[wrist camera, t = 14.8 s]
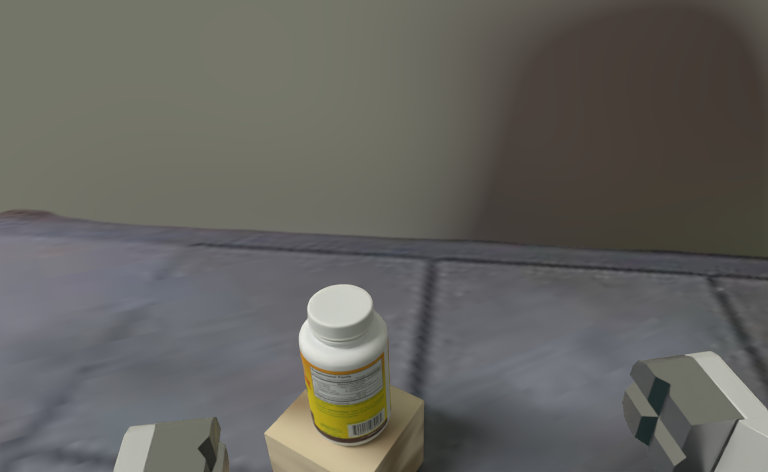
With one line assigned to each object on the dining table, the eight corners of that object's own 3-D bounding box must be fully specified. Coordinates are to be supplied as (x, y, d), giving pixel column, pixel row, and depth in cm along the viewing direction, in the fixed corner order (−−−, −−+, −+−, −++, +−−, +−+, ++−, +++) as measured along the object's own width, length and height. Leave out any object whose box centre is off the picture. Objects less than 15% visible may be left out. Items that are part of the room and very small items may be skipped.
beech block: (340, 418, 47) (334, 359, 43) (423, 460, 44) (424, 400, 40) (278, 493, 42) (264, 433, 38) (367, 549, 38) (361, 489, 34)
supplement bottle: (333, 377, 42) (321, 267, 36) (402, 398, 40) (400, 286, 34) (296, 435, 38) (275, 322, 32) (372, 462, 36) (363, 346, 30)
